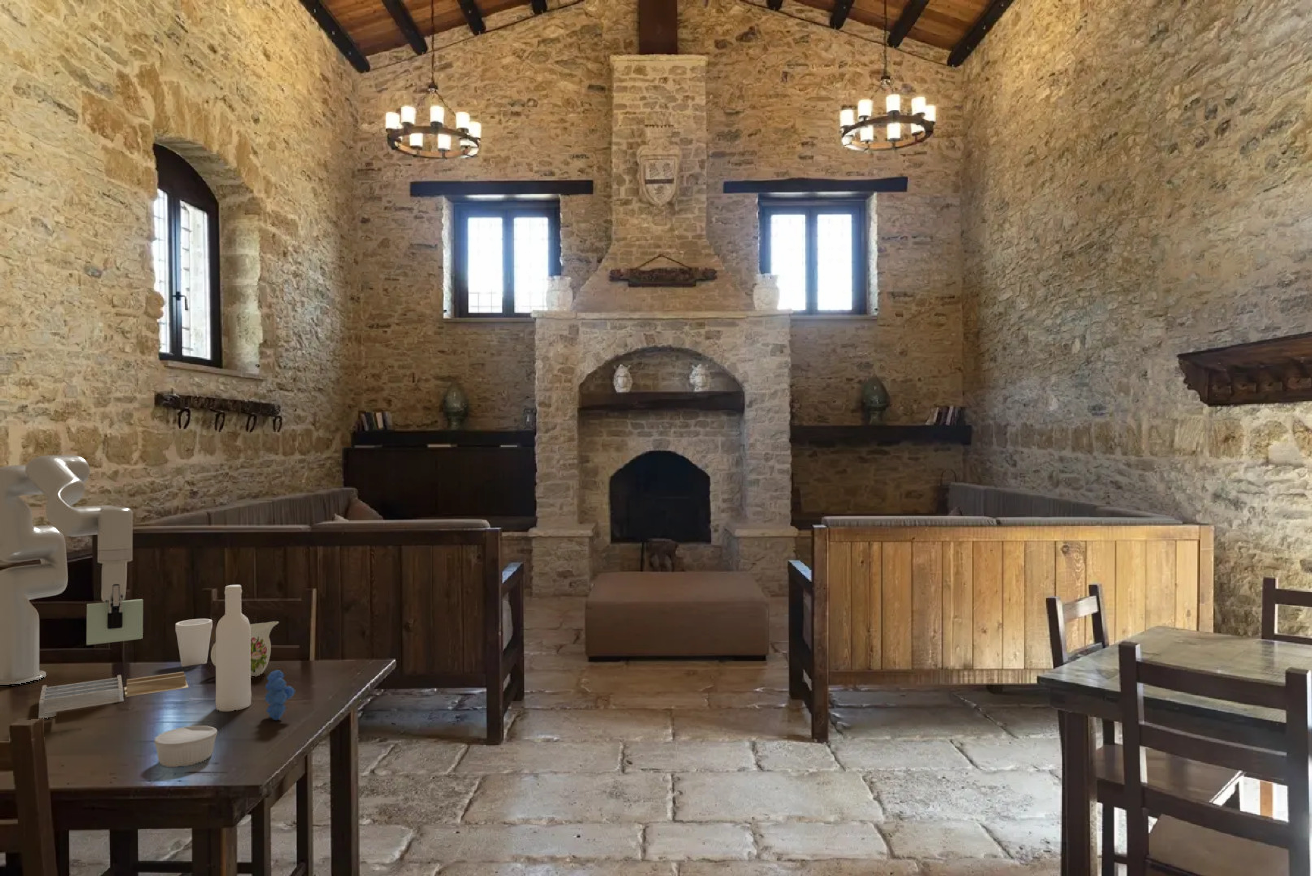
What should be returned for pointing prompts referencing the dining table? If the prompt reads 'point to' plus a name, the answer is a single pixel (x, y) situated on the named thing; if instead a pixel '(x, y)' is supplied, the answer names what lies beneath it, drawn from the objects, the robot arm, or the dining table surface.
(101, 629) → the sage green plank
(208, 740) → the ramekin
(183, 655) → the foam cup
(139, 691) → the stand
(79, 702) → the rack
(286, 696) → the grapes
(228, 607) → the bottle
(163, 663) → the dining table surface
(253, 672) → the pitcher
